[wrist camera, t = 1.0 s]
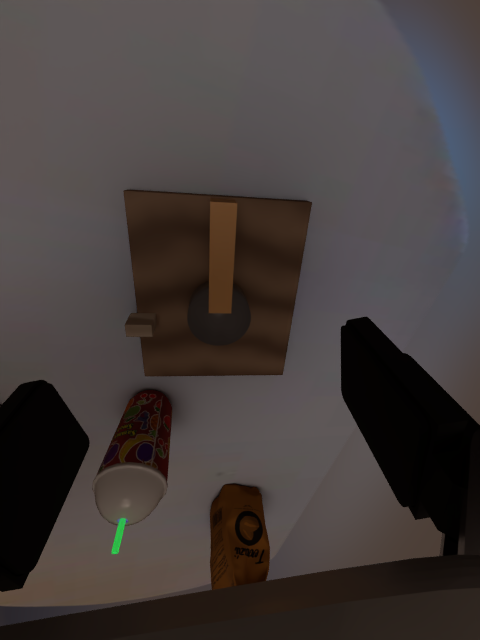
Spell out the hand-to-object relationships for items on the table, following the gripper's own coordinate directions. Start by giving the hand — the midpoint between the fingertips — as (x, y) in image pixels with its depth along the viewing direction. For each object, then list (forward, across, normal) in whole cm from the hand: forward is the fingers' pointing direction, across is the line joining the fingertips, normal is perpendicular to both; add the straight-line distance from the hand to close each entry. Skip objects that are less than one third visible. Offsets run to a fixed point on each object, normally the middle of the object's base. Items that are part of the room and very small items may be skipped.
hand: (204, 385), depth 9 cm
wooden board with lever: (+27, +2, +9) cm, 29 cm away
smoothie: (+27, +16, +25) cm, 40 cm away
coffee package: (+27, +8, +56) cm, 62 cm away
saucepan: (+23, 0, +5) cm, 24 cm away
